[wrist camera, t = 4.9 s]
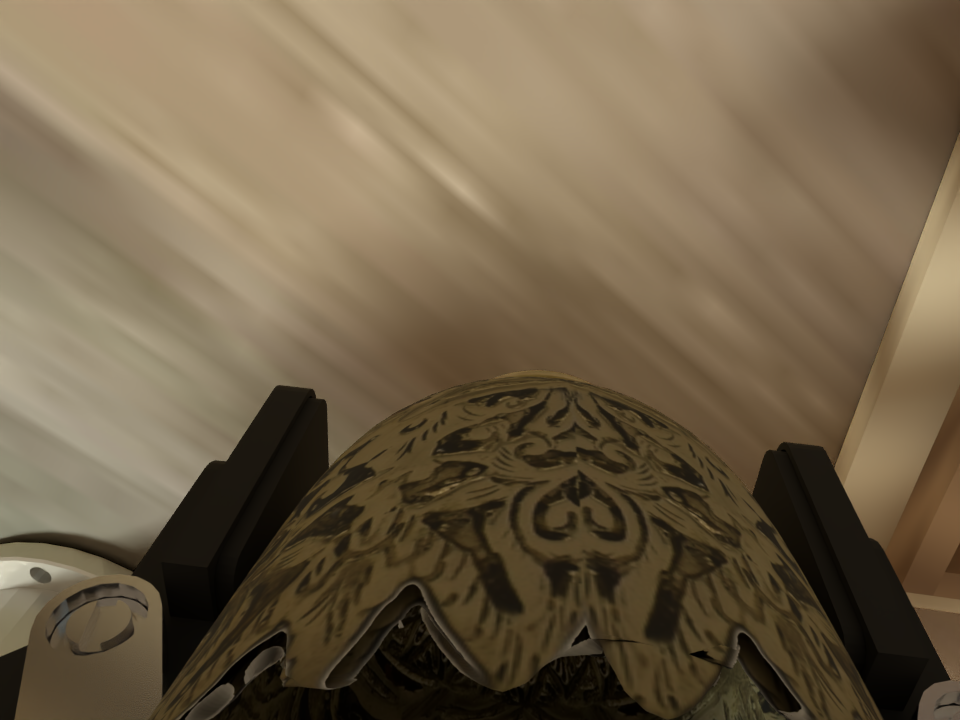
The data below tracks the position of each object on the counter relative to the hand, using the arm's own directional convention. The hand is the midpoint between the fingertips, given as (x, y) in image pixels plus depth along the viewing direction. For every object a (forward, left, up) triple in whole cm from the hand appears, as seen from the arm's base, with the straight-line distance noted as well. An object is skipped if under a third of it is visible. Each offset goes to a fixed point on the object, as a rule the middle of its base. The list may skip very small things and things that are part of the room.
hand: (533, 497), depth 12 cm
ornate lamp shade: (0, 0, -2) cm, 2 cm away
